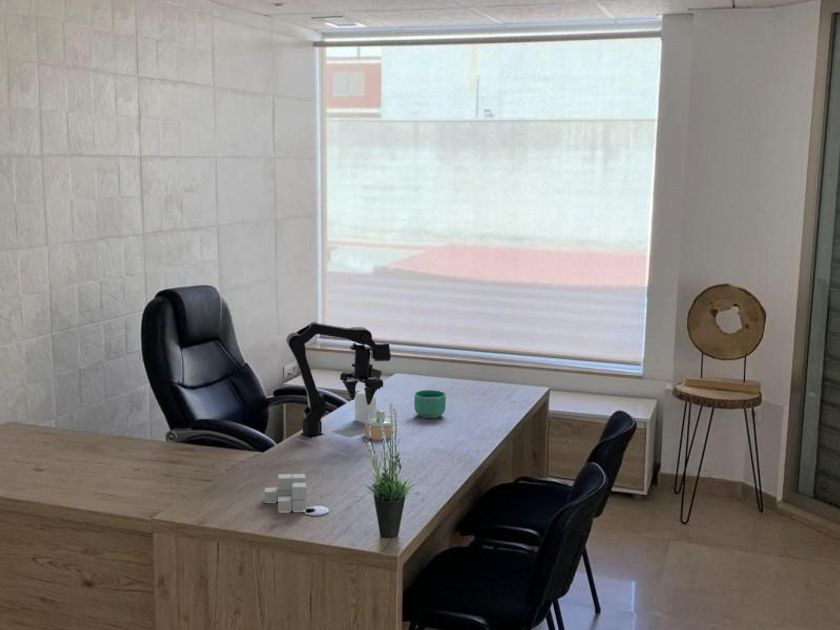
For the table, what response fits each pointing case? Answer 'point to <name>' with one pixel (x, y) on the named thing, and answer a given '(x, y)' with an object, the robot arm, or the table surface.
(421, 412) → the mug
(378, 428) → the bowl
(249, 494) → the table surface
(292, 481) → the puzzle cube
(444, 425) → the table surface
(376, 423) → the lid
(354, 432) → the mat
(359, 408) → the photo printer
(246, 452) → the table surface
